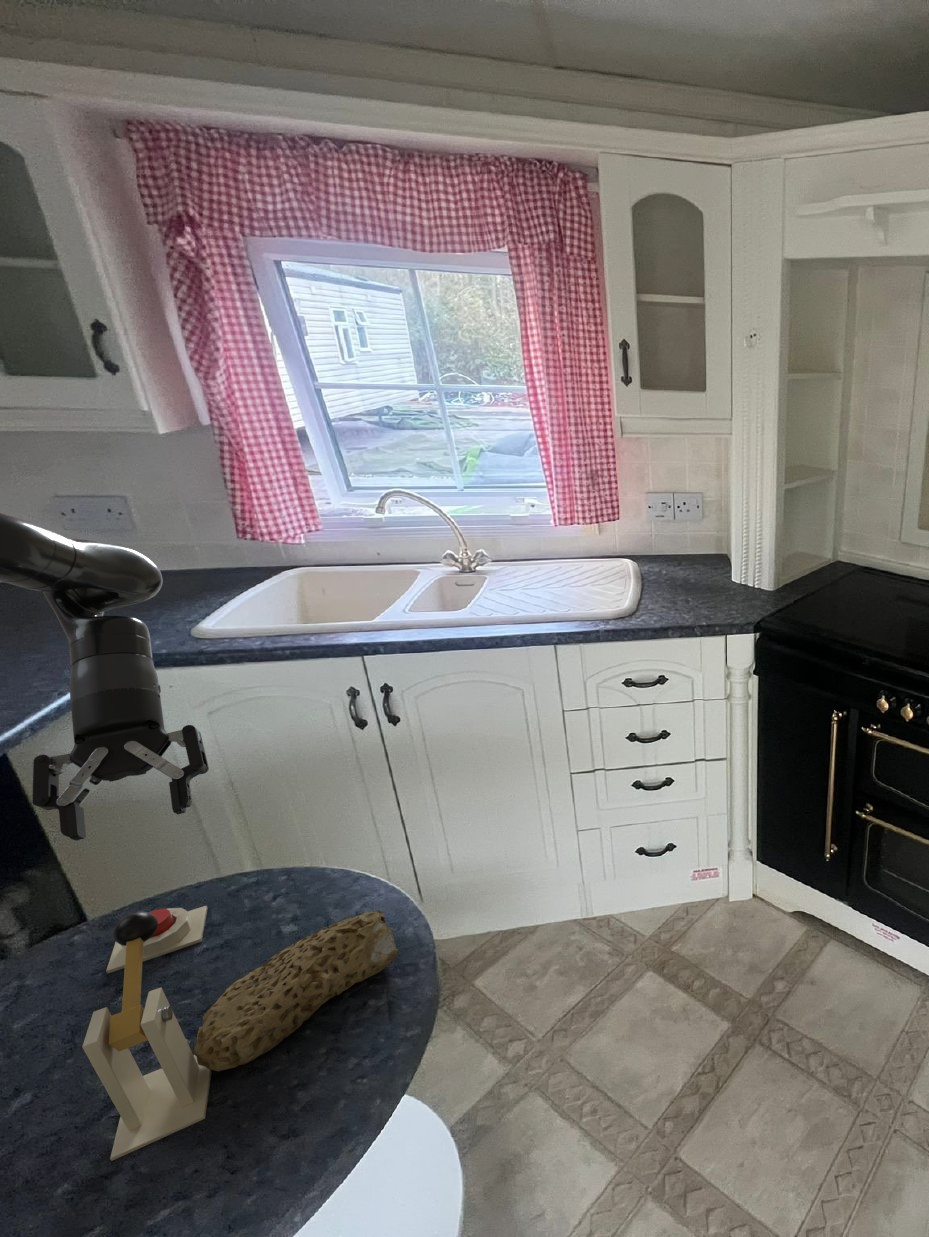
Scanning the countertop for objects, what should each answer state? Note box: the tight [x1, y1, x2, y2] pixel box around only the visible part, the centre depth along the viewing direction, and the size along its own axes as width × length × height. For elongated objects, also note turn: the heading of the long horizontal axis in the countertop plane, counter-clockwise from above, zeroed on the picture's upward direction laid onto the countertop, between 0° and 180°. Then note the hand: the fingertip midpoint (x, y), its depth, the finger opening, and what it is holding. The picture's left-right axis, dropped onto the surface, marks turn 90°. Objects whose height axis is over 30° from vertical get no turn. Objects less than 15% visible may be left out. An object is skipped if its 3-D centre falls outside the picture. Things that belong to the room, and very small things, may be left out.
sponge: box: [192, 909, 400, 1072], centre depth 81 cm, size 13×8×20 cm
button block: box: [105, 905, 209, 975], centre depth 88 cm, size 9×7×3 cm
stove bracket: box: [81, 987, 213, 1162], centre depth 68 cm, size 9×7×14 cm
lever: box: [109, 911, 158, 1052], centre depth 69 cm, size 14×3×3 cm, turn 36°
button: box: [148, 908, 174, 938], centre depth 88 cm, size 4×4×2 cm
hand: (130, 825), depth 77 cm, fingers open, 8 cm apart
